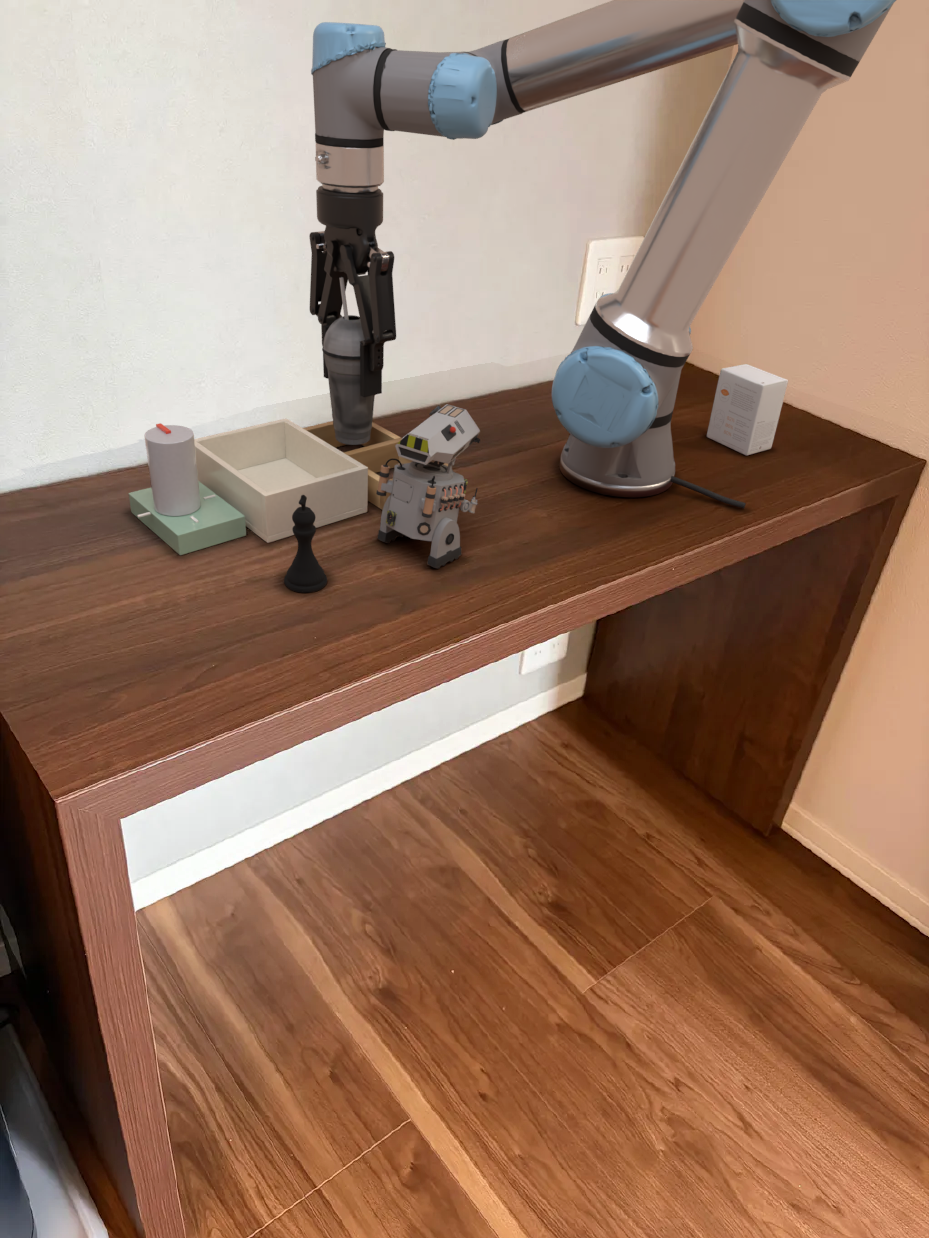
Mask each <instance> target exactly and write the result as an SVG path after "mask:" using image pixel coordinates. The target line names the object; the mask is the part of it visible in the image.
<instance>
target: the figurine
mask: <svg viewBox="0 0 929 1238" xmlns="http://www.w3.org/2000/svg"><path fill="white" fill-rule="evenodd" d="M428 414H429V417H427V418H426V419H425V420H423V422H421V423H420V424H419V425H417V426H415V428H413V429H412V430H411V431H409V432H408V433H406V434H405V435H404V436H403V437H401V438H402V440H401V441H400V442H398V443H397V444H396V445H395V447H396V450H397V453H398V456H400V457H403V458H406V459H409V460H412V462H410V463H406V464H402V463H401V462H400V461H399V460H398V459H389V460H388V461H387V462H386V464H385V465H381V471H380V472H379V474H378V475H379V476H380V477H379V484H378V490H377V493H376V494H377V495H379V496H386V493H387V492H388V493H390V496H389V497H388V498H387V500H386V502H385V504H384V507H383V510H382V509H381V510H382V511H381V516H380V526H379V529H378V531H377V537H376V538H377V540H379V541H380V542H382V543H386V544H390V543H391V541H392V542H394V541H396V539H397V538H398V537H400V538H403V537H404V536H405V537H408V538H410V539H411V540H420V541H425V542H431V544H430V545H431V546H430V553H429V554H428V556H427V563H426V564H427V565H428V566H430V567H432V568H434V569H440V568H441V567H442V566H443V567H445V566H446V564H447V563H448V562H450V563H452V562H454V560H458V559H459V557H460V556H462V546H461V531H460V527H459V524H458V519H459V518H458V517H459V513H460V511H461V512H463V513H467V512H468V513H471V514H475V513H476V508H477V506H478V504H479V503H478V499H477V498H476V497H477V492H478V489H479V488H478V487H476V488H475V493H474V495H472V498H471V501H469V500H468V499H465V498H466V494H467V493H466V492H467V487H468V483H469V482H468V479H467V478H464V475H462V474H460V473H457V472H456V471H454V470H453V466H455V463H456V461H457V459H456V458H457V457H458V456H459V455H461V453H463V452H464V451H465V450H467V448H469V446H471V445H472V444H473V443H477V444H480V442H481V439H480V438H479V437H478V436H479V434H480V433H481V430H480V428H479V427H478V425H477V424H476V421H474V419H473V418H472V416H471V415H470V413H469V412H468V410H467V409H465V408H461V407H458V406H455V405H451V404H449V403H446V404H445V405H444V406H443V407H441V406H440V405H437V406H436V407H435V408H433V409H432V410H431V411H430V412H429V413H428ZM391 460H396V461H398V462H399V464H397V465H395V467H394V468H393V474H392V479H393V480H389V477H390V467H389V466H388V465H387V463H388V462H389V461H391ZM444 463H447V464H448V466H446V465H444Z"/></svg>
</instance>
